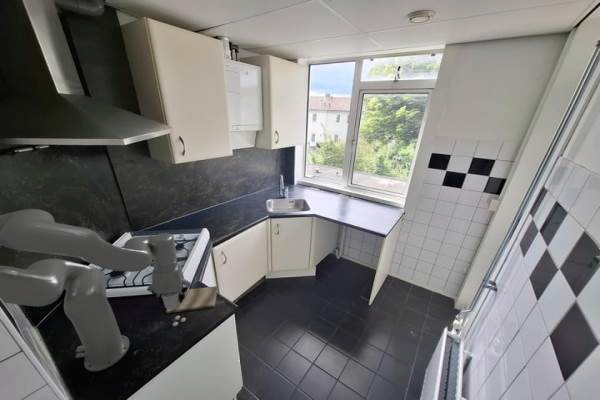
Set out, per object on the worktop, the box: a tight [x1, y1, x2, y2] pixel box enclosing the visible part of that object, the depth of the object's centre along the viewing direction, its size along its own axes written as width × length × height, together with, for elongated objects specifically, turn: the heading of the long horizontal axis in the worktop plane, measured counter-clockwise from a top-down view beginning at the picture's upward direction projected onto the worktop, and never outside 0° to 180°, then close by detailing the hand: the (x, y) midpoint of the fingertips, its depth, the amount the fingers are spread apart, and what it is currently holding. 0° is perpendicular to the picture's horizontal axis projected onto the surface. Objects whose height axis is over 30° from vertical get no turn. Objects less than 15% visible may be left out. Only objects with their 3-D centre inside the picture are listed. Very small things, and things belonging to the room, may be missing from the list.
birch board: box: [166, 285, 219, 314], centre depth 105 cm, size 20×12×1 cm, turn 103°
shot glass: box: [161, 292, 180, 310], centre depth 89 cm, size 7×7×7 cm
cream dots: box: [172, 315, 187, 327], centre depth 95 cm, size 5×5×1 cm
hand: (172, 301), depth 90 cm, fingers closed on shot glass, 6 cm apart
